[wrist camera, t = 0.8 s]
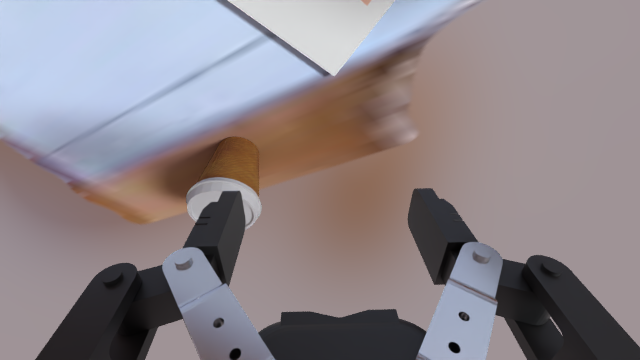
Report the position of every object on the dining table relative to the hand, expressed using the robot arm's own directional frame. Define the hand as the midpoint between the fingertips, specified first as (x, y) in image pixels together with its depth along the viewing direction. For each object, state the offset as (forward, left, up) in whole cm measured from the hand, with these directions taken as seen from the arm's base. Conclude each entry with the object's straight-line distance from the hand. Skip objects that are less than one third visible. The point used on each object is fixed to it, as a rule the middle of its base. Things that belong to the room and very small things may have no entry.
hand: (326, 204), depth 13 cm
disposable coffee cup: (+1, -23, -26) cm, 35 cm away
